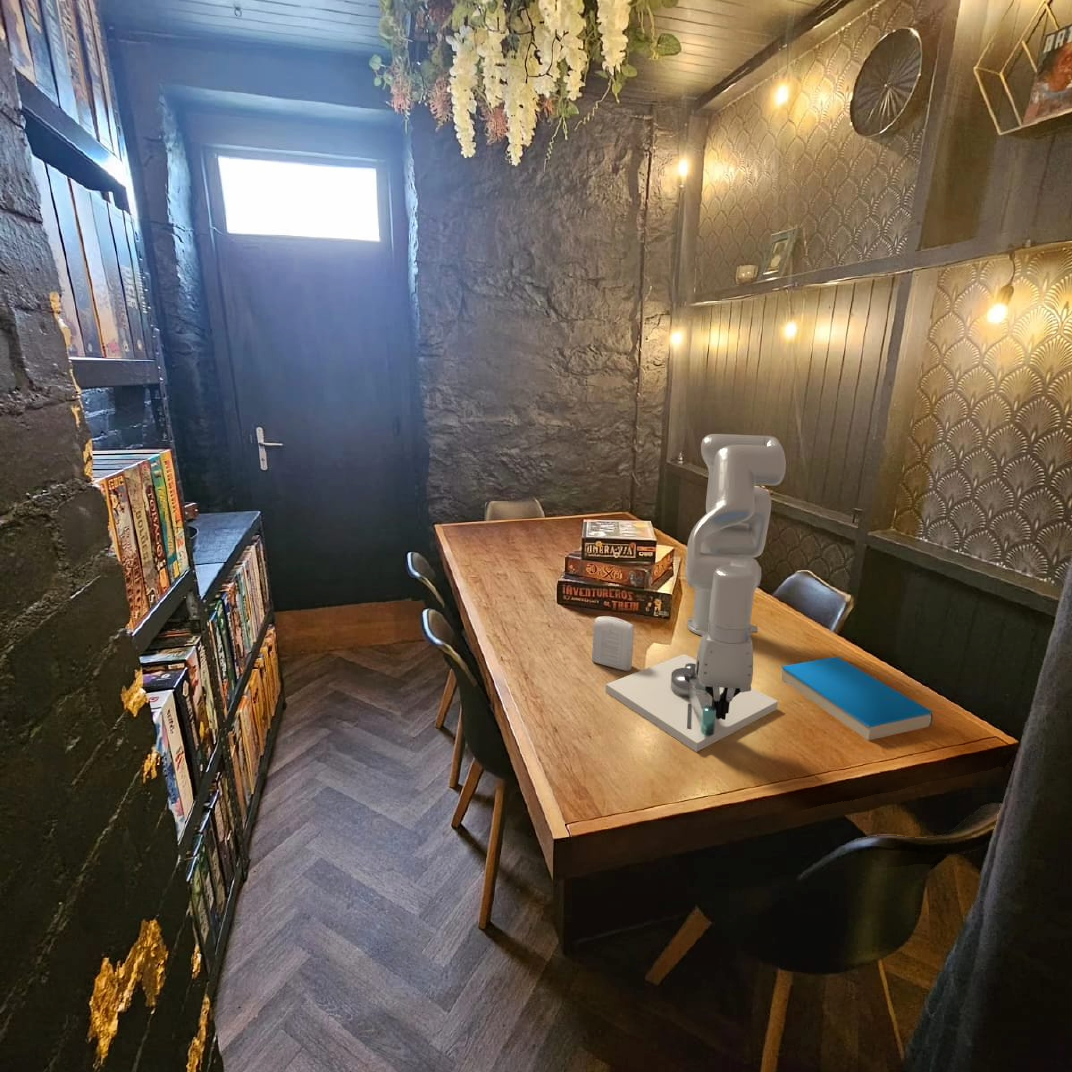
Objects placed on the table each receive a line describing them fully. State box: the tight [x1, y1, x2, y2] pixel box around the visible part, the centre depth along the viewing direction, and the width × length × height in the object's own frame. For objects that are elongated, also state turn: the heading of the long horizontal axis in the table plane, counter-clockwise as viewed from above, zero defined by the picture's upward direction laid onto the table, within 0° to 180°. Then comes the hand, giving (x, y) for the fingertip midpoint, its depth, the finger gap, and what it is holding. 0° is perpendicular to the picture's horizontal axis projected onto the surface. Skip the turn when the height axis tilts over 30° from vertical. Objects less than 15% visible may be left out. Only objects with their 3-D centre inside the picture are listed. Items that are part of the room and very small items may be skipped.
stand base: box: [605, 653, 779, 753], centre depth 127 cm, size 26×26×2 cm
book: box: [780, 656, 934, 741], centre depth 127 cm, size 17×4×25 cm
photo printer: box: [591, 615, 635, 672], centre depth 141 cm, size 10×4×12 cm, turn 60°
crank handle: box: [671, 663, 716, 736], centre depth 120 cm, size 22×8×6 cm, turn 177°
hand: (719, 715), depth 114 cm, fingers closed
